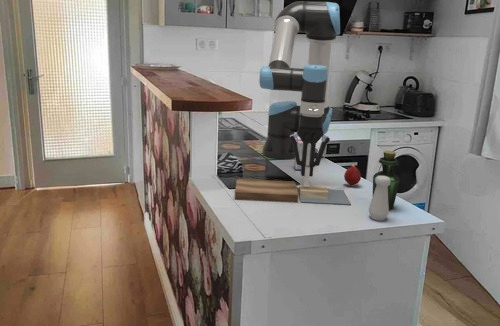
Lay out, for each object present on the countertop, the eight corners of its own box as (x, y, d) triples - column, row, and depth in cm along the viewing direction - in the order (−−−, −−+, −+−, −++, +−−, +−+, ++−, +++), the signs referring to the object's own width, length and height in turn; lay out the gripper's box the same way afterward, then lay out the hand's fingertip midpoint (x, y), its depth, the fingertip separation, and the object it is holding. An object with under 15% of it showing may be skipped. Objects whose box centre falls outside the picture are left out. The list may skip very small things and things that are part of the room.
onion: (362, 185, 168) (364, 164, 166) (356, 189, 164) (358, 167, 161) (347, 182, 171) (349, 161, 169) (340, 186, 167) (342, 164, 164)
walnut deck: (236, 185, 162) (237, 178, 161) (294, 188, 162) (294, 181, 161) (234, 199, 148) (235, 192, 148) (297, 202, 148) (298, 195, 148)
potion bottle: (393, 213, 143) (401, 156, 138) (367, 208, 146) (373, 152, 141) (397, 205, 150) (405, 151, 145) (372, 200, 153) (378, 147, 148)
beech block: (298, 191, 157) (299, 184, 157) (325, 193, 157) (326, 186, 156) (300, 197, 151) (300, 190, 151) (327, 199, 151) (328, 192, 151)
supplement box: (310, 171, 183) (312, 143, 180) (295, 170, 183) (297, 142, 180) (308, 167, 189) (310, 139, 185) (293, 166, 188) (296, 138, 185)
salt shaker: (363, 217, 139) (368, 175, 135) (375, 213, 142) (380, 172, 139) (380, 223, 135) (386, 180, 131) (391, 219, 138) (397, 177, 135)
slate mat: (297, 188, 162) (297, 187, 162) (343, 190, 162) (343, 189, 162) (300, 202, 148) (300, 201, 148) (351, 205, 148) (351, 204, 148)
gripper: (292, 115, 144) (286, 188, 150) (334, 117, 144) (327, 190, 150) (290, 111, 151) (285, 181, 158) (330, 113, 151) (323, 182, 158)
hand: (305, 185), depth 154 cm, fingers closed
